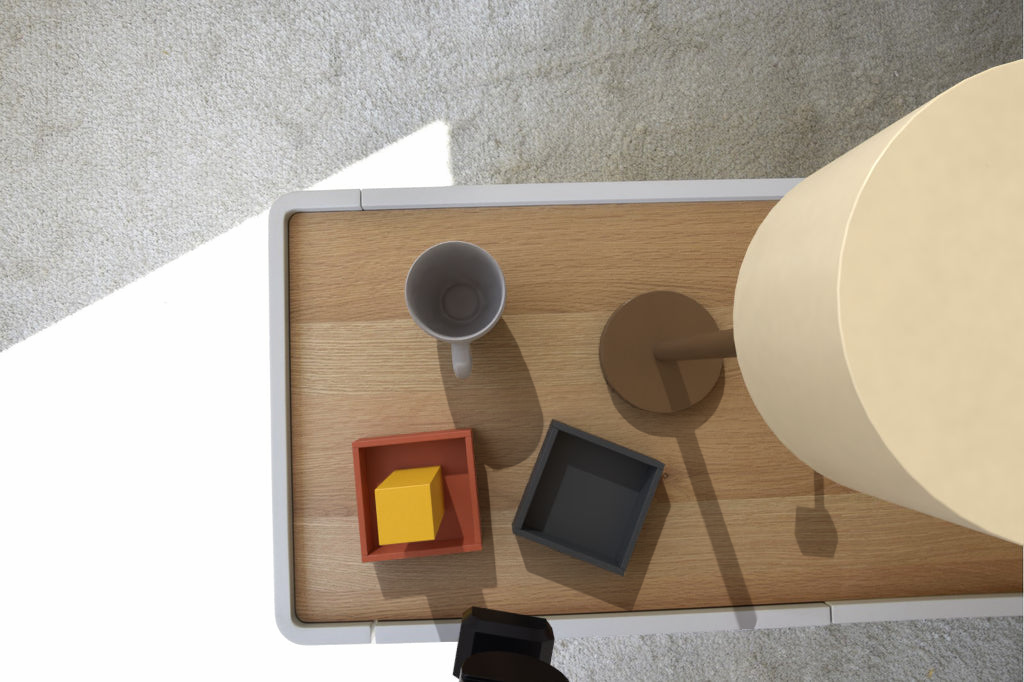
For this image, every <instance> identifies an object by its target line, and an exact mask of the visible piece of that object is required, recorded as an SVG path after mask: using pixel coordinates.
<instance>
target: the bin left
mask: <svg viewBox="0 0 1024 682" xmlns="http://www.w3.org/2000/svg"><path fill="white" fill-rule="evenodd" d="M351 452H352V462H353V474H354V486H355V498H356V509H357V510H356V511H357V519H358V521H357V523H358V532H359V545H360V555H361V558H360V559H361V563H362V564H364V563H374V562H383V561H394V560H403V559H404V560H405V559H411V558H412V559H413V558H422V557H423V558H424V557H430V556H442V555H450V554H461V553H469V552H478V551H479V552H480V551H483V541H484V537H483V531H482V530H483V528H482V518H481V517H482V516H481V507H480V498H479V497H480V496H479V495H480V494H479V485H478V484H479V483H478V475H477V464H476V463H477V462H476V454H475V442H474V432H473V427H472V426H469V427H459V428H451V429H449V428H448V429H438V430H431V431H429V430H428V431H420V432H410V433H399V434H389V435H381V436H380V435H379V436H369V437H359V438H358V439H356V440H354V441H352V442H351ZM437 465H441V470H442V481H443V492H444V504H445V512H444V515H443V518H442V521H441V523H440V526H439V529H438V532H437V534H436V537H435V540H426V541H417V542H407V543H397V544H387V545H379V534H378V522H377V511H376V499H375V489H376V488H377V487H378V486H379V485H380V484H381V483H382V482H383V481H384V480H385V479H386V478H387V477H388V476H389V475H391V474H392V473H393V472H394V471H395V470H396V469H406V468H416V467H426V466H437Z"/></svg>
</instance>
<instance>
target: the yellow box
mask: <svg viewBox="0 0 1024 682" xmlns="http://www.w3.org/2000/svg"><path fill="white" fill-rule="evenodd" d="M375 499H376V511H377V522H378V534H379V545H387V544H397V543H407V542H417V541H426V540H435V537H436V534H437V532H438V529H439V526H440V523H441V521H442V518H443V515H444V512H445V504H444V492H443V481H442V470H441V465H437V466H426V467H416V468H406V469H396V470H395V471H394V472H393V473H392V474H391V475H389V476H388V477H387V478H386V479H385V480H384V481H383V482H382V483H381V484H380V485H379V486H378V487H377V488H376V489H375Z"/></svg>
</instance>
